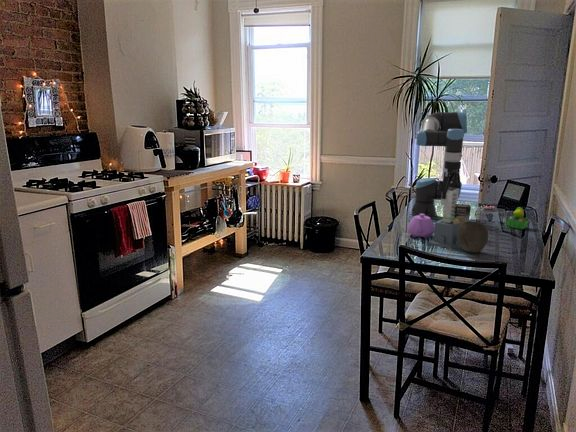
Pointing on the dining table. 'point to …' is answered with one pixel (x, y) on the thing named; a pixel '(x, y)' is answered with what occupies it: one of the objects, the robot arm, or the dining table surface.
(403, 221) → the dining table surface
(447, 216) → the column
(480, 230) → the brown round ball
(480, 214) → the dining table surface
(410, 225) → the teapot
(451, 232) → the stand base
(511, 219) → the fruit basket
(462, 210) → the coffee box
